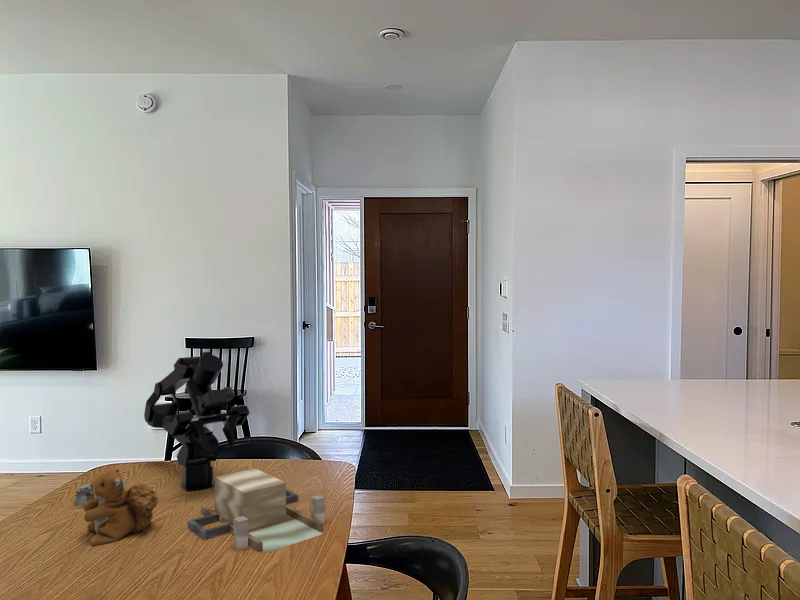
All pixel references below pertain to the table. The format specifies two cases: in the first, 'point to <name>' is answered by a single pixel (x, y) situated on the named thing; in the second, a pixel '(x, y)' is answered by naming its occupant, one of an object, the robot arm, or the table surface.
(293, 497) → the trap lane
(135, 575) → the table surface
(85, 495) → the egg carton
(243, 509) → the maple block
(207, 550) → the table surface
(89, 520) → the stuffed squirrel
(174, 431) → the robot arm
